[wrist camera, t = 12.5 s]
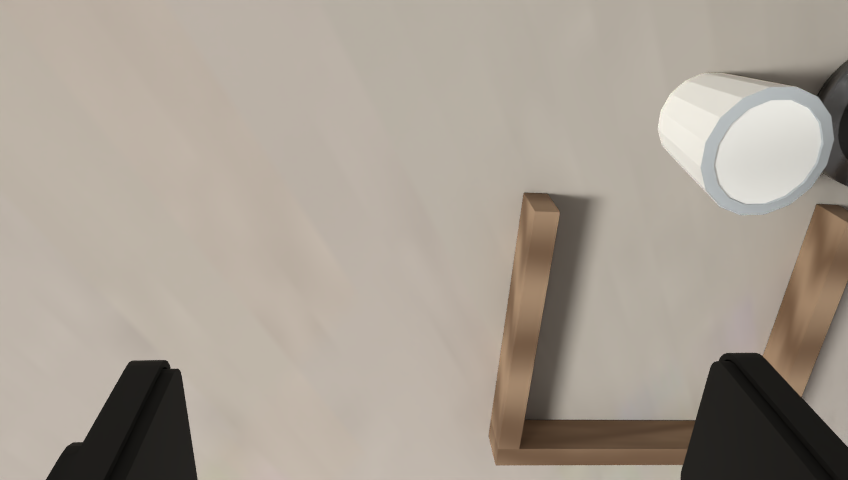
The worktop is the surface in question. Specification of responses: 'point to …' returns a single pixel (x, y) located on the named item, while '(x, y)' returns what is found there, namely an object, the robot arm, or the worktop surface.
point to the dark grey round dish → (837, 122)
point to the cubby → (644, 439)
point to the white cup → (747, 139)
